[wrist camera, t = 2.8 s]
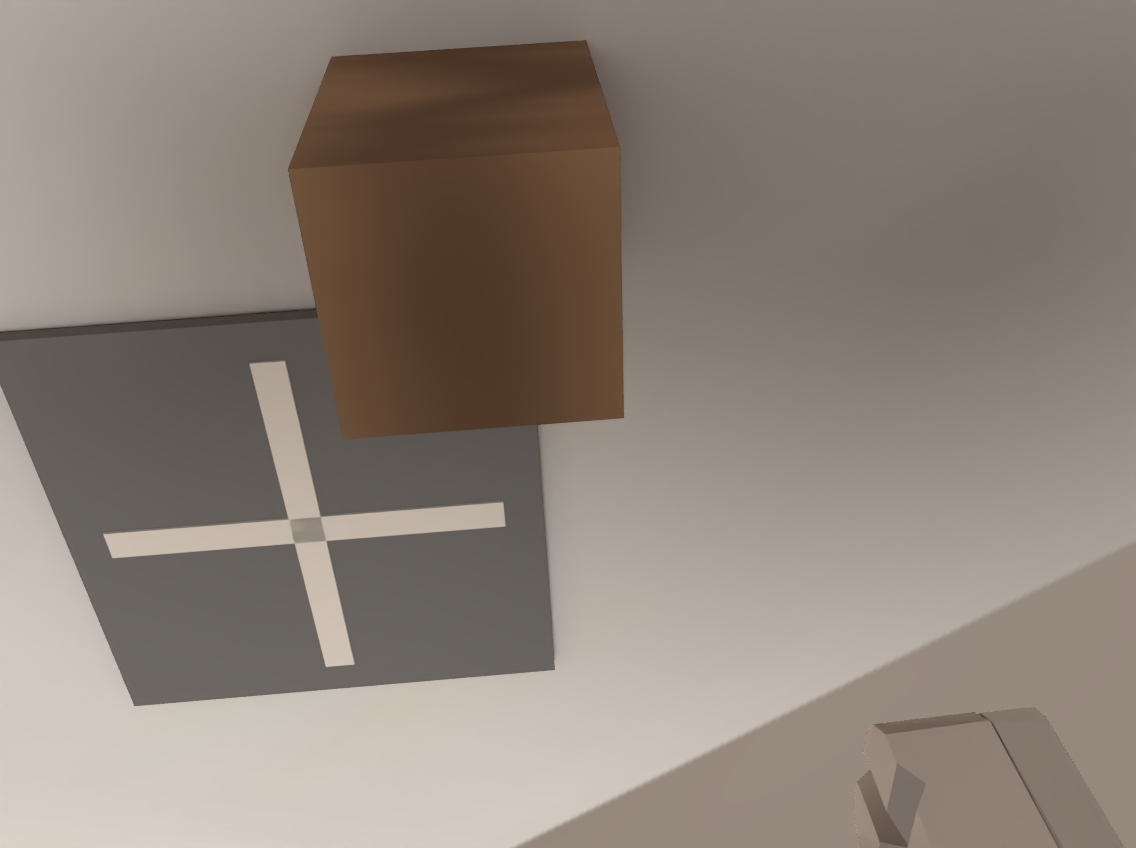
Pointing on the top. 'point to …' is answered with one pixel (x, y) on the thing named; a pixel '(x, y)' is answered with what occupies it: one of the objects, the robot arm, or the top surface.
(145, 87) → the top surface
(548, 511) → the top surface
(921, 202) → the top surface
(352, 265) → the walnut block
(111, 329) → the pad
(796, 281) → the top surface
